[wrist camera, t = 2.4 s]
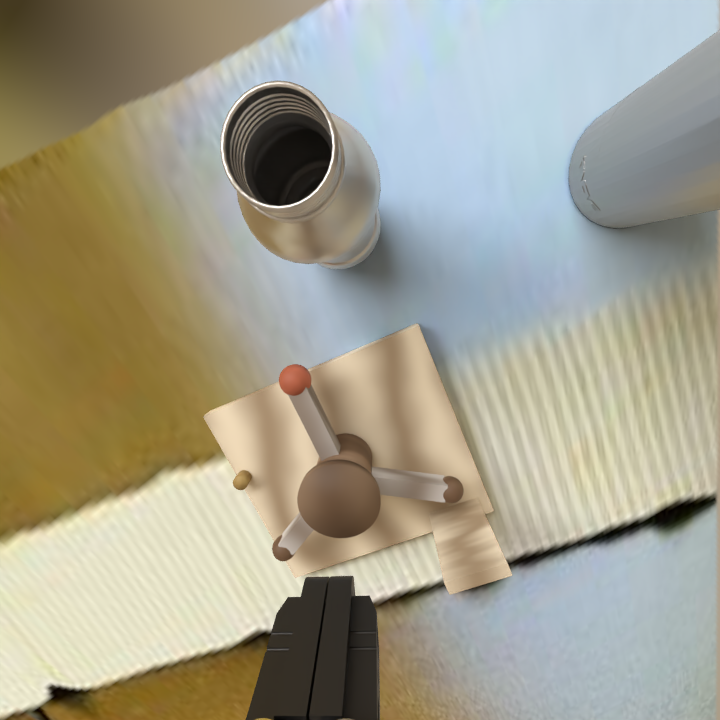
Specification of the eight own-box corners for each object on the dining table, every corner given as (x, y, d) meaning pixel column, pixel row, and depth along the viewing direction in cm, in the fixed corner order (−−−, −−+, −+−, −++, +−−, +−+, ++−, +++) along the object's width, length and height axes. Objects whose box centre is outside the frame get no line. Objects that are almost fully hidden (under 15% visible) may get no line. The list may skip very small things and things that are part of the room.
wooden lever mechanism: (416, 323, 32) (433, 342, 22) (489, 503, 35) (529, 582, 26) (210, 410, 34) (149, 459, 25) (299, 567, 38) (274, 659, 29)
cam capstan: (391, 316, 30) (396, 327, 23) (458, 475, 33) (478, 524, 26) (209, 394, 32) (166, 425, 26) (288, 535, 35) (267, 594, 29)
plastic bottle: (394, 242, 30) (428, 178, 11) (329, 284, 31) (253, 298, 12) (354, 173, 29) (310, -39, 9) (288, 220, 30) (128, 116, 11)
